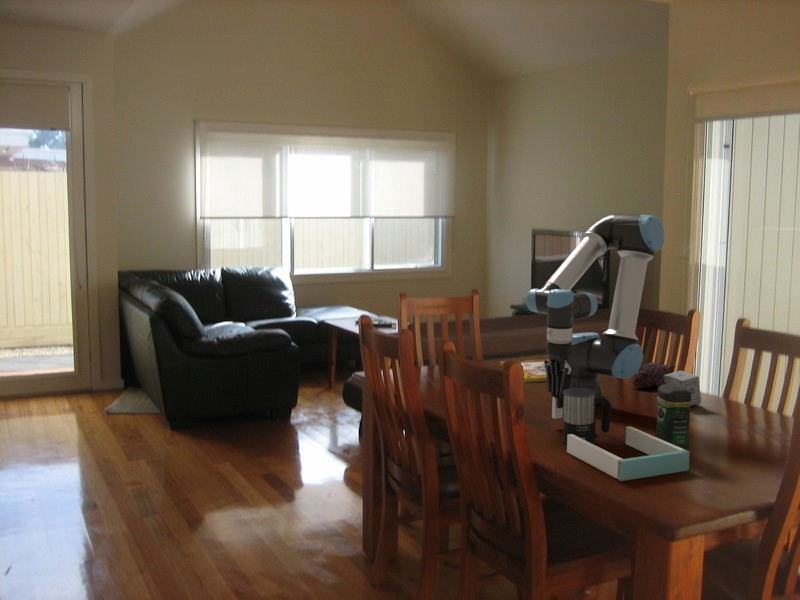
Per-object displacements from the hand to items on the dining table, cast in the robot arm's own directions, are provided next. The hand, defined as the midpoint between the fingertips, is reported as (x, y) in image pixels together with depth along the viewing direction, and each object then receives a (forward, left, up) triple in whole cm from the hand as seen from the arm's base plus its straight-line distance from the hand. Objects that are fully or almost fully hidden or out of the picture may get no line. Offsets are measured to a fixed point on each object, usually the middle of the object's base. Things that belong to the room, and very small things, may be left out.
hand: (557, 417), depth 257 cm
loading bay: (+34, 0, -3) cm, 34 cm away
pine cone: (-31, +60, -3) cm, 67 cm away
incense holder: (-7, +53, -3) cm, 54 cm away
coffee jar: (+32, +17, -3) cm, 36 cm away
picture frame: (-66, +36, -4) cm, 76 cm away
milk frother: (+11, 0, -3) cm, 12 cm away
